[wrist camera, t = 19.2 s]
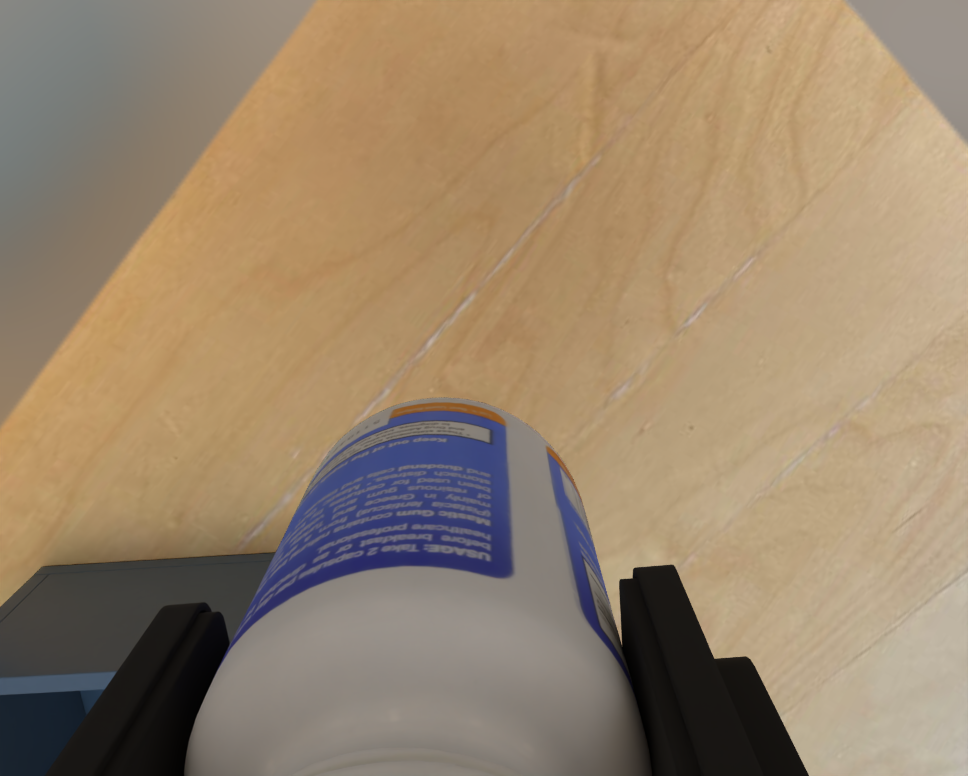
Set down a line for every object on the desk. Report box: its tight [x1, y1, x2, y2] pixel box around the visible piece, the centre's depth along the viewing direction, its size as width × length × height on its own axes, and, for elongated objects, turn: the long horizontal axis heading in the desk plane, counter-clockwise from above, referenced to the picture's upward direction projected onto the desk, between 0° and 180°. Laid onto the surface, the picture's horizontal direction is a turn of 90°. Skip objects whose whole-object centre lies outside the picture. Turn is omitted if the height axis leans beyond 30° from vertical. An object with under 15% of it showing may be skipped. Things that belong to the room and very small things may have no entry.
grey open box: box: [0, 553, 275, 776], centre depth 37 cm, size 15×14×9 cm
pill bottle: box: [184, 398, 652, 776], centre depth 11 cm, size 5×5×10 cm
